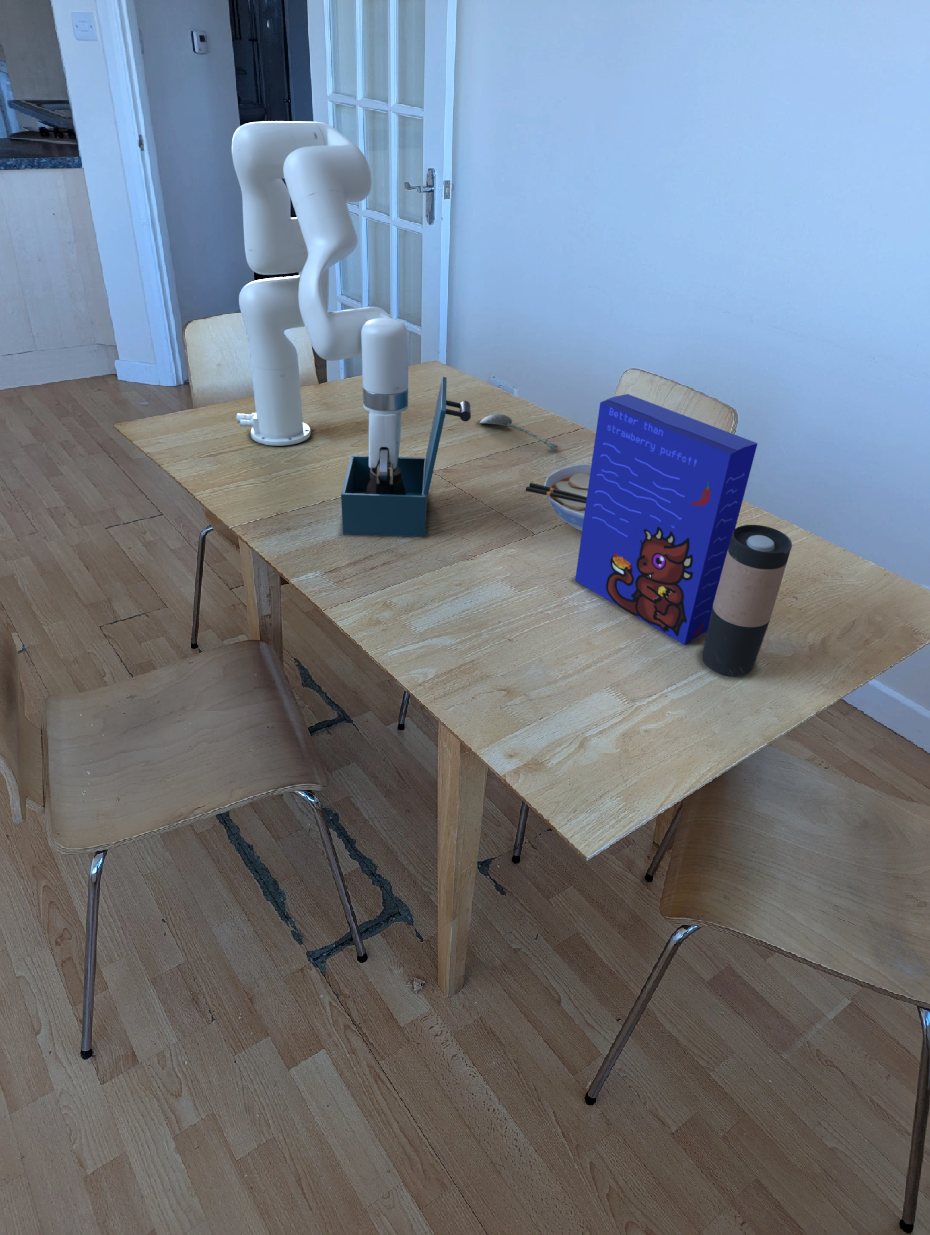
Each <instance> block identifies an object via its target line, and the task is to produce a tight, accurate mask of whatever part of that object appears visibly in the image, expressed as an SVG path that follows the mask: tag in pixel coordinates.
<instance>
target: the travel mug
mask: <svg viewBox="0 0 930 1235" xmlns="http://www.w3.org/2000/svg"><path fill="white" fill-rule="evenodd" d="M792 547H793V541H792V540H791V538H790V537H789V536H788V535H787V534H785V533H784V532H782V531H780V530H778V529H776V528H773V527H770V526H767V525H761V524H744V525H740V526H738V527H737V526H736V528H735V530H734V531H733V533H732V536H731V540H730V544H729V547H728V551H727V555H726V558H725V562H724V566H723V570H722V573H721V577H720V581H719V584H718V588H717V592H716V596H715V599H714V603H713V607H712V612H711V616H710V621H709V626H708V630H707V632H706V636H705V640H704V645H703V650H702V655H701V656H702V657H701V658H702V661H703V663H704V664H705V666H706V667H707V668H709V669H710V670H711V671H713V672H715V673H716V674H718V675H722V676H726V677H734V678H736V677H738V678H739V677H743V676H747V675H748V674H750V673H751V672H752V671H753V668H754V666H755V663H756V662H757V658H758V656H759V652H760V651H761V647H762V644H763V642H764V638H765V635H766V633H767V629H768V628H769V624H770V621H771V618H772V615H773V611H774V608H775V605H776V601H777V599H778V598H777V597H778V594H779V591H780V588H781V584H782V581H783V578H784V574H785V570H786V567H787V564H788V560H789V558H790V554H791V551H792V549H793V548H792Z"/></svg>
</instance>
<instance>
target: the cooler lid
mask: <svg viewBox="0 0 930 1235" xmlns="http://www.w3.org/2000/svg"><path fill="white" fill-rule="evenodd" d="M447 380H448V378H447V377H446V376H442V377H441V381H440V385H439V390H438V394H437V395H438V396H437V398H436V399H437V400H436V404H435V409H434V415H433V419H432V424H431V429H430V434H429V439H428V444H427V448H426V454H425V458H426V463H425V478H424V493H423V494H425V495H427V496H429V493H430V488H431V483H432V479H433V473H434V470H435V466H436V461H437V456H438V451H439V445H440V442H441V436H442V432H443V427H444V423H445V419H446V415H448V416H454V417H458V418H460V420H461V421H462V422H468V421H470V420H471V417H472V414H471V413H472V412H471V403H470V402H469V401H468V400H463V401H461V402H457V401H453V400H447V383H448V382H447ZM447 407H452V408H457V409H459V410H454V409H449V408H447Z"/></svg>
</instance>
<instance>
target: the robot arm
mask: <svg viewBox="0 0 930 1235" xmlns="http://www.w3.org/2000/svg"><path fill="white" fill-rule="evenodd" d="M231 140H232V141H231V156H232V157H231V158H232V163H233V168H234V171H235V174H236V177H237V180H238V184H239V187H240V191H241V200H242V222H243V241H244V242H243V244H244V254H245V259H246V262H247V265H248V267H249V268H250V270H251V271H253V272H254V273H256V274H258V275H263V276H265V275H266V276H273V275H284V274H293V273H294V274H295V273H298V275H293V276H284V277H283V276H279V277H269V278H263V279H257V280H254V281H250V282H249V283H247V284H245V285H244V286H243V287H242V288H241V290H240V292H239V294H238V306H239V310H240V314H241V318H242V322H243V325H244V328H245V329H244V330H245V334H246V338H247V344H248V350H249V351H248V352H249V360H250V369H251V380H252V387H253V389H252V390H253V396H254V397H253V398H254V406H255V407H254V408H255V412H251V414H246V413H237V414H236V423H237V424H239V426H240V427H250V428H251V429H250V437H251V439H252V440H253V441H255V442H256V443H259V444H262V445H266V446H275V447H283V446H284V447H285V446H292V445H296V444H300V443H302V442H304V441H306V440H308V439H309V438H310V436H311V434H312V433H311V432H312V428H311V427H310V426H309V425H308V424H307V423H305V422H303V408H302V395H301V394H302V392H301V382H300V381H301V378H300V365H299V356H298V351H297V348H296V346H295V345H294V343H293V342H292V341H291V340H290V338H288V336H287V335H286V334H285V331H286V330H291V329H296V328H304V327H305V331H306V335H307V337H308V339H309V343H310V344H311V347H312V348H313V350H314V352H315V354H316V355H317V356H319V358H321V359H323V360H325V361H329V362H335V361H341V360H347V359H354V358H359V357H361V373H362V375H361V377H362V406H363V409H364V410H365V411H368V412H369V413H368V456H369V468H370V469H372V468H376V465H377V483H376V494H387V495H395V483H393V470H394V469H395V468H397V463H398V457H400V450H401V439H402V438H401V437H402V413H403V412H405V411H406V410H408V408H409V329H408V327H407V325H406V324H405V323H404V322H403V321H401V320H398V319H395V318H392V317H391V315H390V314H389V313H388V312H387V311H386V310H385V309H383V308H381V307H378V306H367V307H359V308H358V307H357V308H349V309H342V310H335V311H329V300H330V296H329V295H330V268H332V267H333V266H334V265H336V264H337V263H339V262H341V261H343V260H344V259H346V258H347V257H348V256H350V255H351V254H352V253H353V252H354V251H355V250H356V249H357V246H358V245H359V244H358V243H359V238H358V234H357V231H356V228H355V226H354V225H355V224H354V223H353V218H352V216H351V213H350V209H349V207H348V203H357V202H362V201H365V200H366V199H367V197H368V196H369V195H370V193H371V189H372V181H373V180H372V171H371V167H370V165H369V162H368V160H367V158H366V156H365V154H364V153H363V152H362V150H361V149H360V148H359V147H358V146H357V144H355V143H354V142H353V141H352V140H350V139H349V137H347V136H345V135H344V134H343V133H342V132H340V131H339V130H337V129H336V128H335V127H333V125H330V124H328V123H326V122H321V121H284V120H279V121H278V120H275V121H273V120H271V121H270V120H268V121H253V122H248V123H244V124H242V125H240V126H238V127H237V129H236V130H235V132H234V133H233V136H232V139H231ZM283 179H284V180H283ZM291 203H292V206H293V209H294V212H295V215H296V217H292V216H291ZM328 311H329V312H328ZM388 464H391V467H388ZM387 471H390V476H389V474H388V472H387Z"/></svg>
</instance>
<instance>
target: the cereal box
mask: <svg viewBox="0 0 930 1235" xmlns="http://www.w3.org/2000/svg"><path fill="white" fill-rule="evenodd" d="M757 447H758V442H756V441H753V440H751V439H748V438H745V437H743V436H739V435H738V434H735V433H732V432H729V431H726V430H724V429H722V428H718V427H716V426H713V425H711V424H708V423H705V422H702V421H700V420H697V419H695V418H693V417H690V416H686V415H684V414H682V413H679V412H676V411H675V410H674V411H673V410H671V409H669V408H666V407H664V406H661V405H658V404H655V403H653V402H650V401H647V400H644V399H642V398H639V397H638V396H634V395H632V394H629V393H627V394H621V395H616V396H612V397H609V398H606V399H605V400H603V401H600V402H599V408H598V415H597V423H596V431H595V436H594V444H593V451H592V458H591V463H590V464H591V471H590V478H589V486H588V493H587V500H586V507H585V514H584V521H583V528H582V531H581V536H580V543H579V550H578V557H577V564H576V571H575V572H576V573H575V578H574V581H575V582H577V583H578V584H580V585H582V586H584V587H585V588H587V589H589V590H590V591H592V592H594V593H596V594H597V595H599V596H601V597H602V598H604V599H605V600H608V601H609V602H610V603H613V604H614V605H616V606H618V607H619V608H621V609H622V610H624V611H626V612H627V613H629V614H631V615H632V616H633V615H634V617H636V618H638V619H640V620H641V621H643V622H645V623H646V624H648V625H650V626H651V627H653V628H655V629H657V630H658V631H660V632H662V633H663V634H665V635H666V636H669V637H670V638H672V639H674V640H675V641H677V642H679V643H681V644H682V645H686V644H688V643H691V642H692V641H693V640H695V639H697V638H699V637H701V636H702V635H703V634H705V633H707V630H708V626H709V621H710V616H711V612H712V607H713V603H714V599H715V596H716V592H717V588H718V584H719V581H720V577H721V573H722V570H723V566H724V562H725V558H726V555H727V551H728V547H729V544H730V540H731V536H732V533H733V531H734V530H735V529H736V528H737V524H738V520H739V516H740V512H741V508H742V504H743V501H744V497H745V493H746V490H747V485H748V481H749V478H750V474H751V470H752V466H753V462H754V458H755V455H756V452H757Z"/></svg>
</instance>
